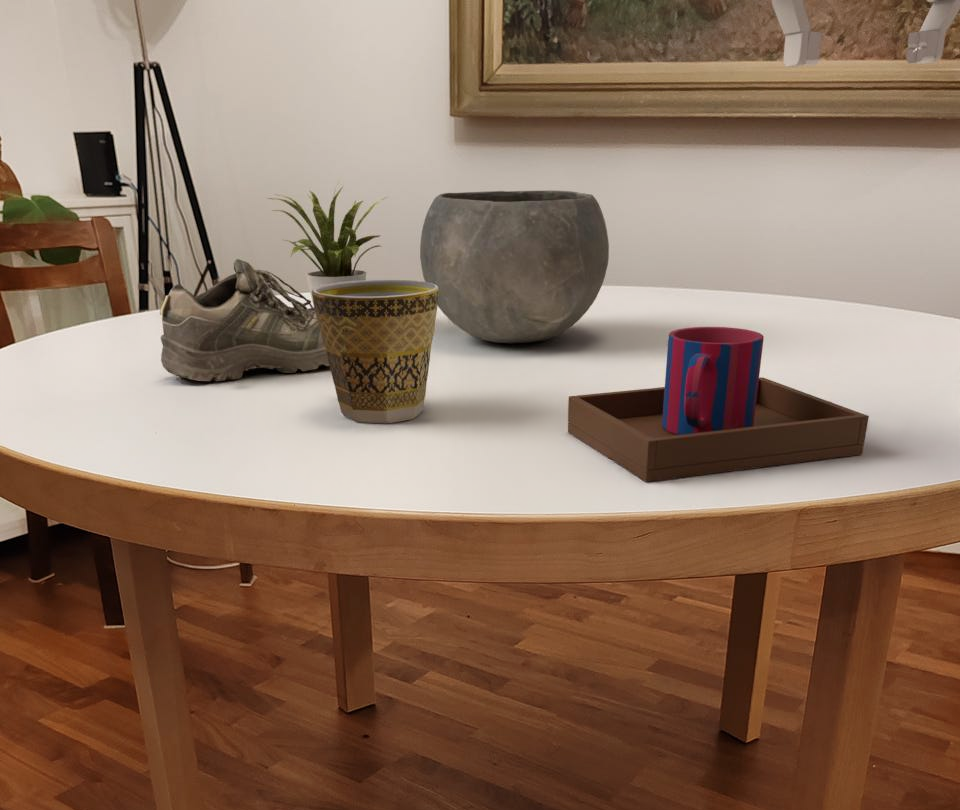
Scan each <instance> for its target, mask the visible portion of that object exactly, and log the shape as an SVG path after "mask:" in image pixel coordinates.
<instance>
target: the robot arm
mask: <svg viewBox="0 0 960 810" xmlns="http://www.w3.org/2000/svg"><path fill="white" fill-rule="evenodd" d="M926 2H927V3H932V5H931V6H930V9H929V10H928V13H927V15H926V17H925V19H924V21H923V23H922V24H921V27H920V29H919V31H912V32H908V38H907V39H908V40H907V47H908V49H907V51H906V53H905V61H906V62H907V63H908V64H931V63H937V62H939V61H940V60H941V58H942V56H943V52H944V47H945V41H946V32H947V30H949V28H950V27H951V25H952V24H953V22H954V20H955V18H956V17H957V15H958V13H959V12H960V0H926ZM771 5H772V8H773V10H774V13H775V15H776V19H777V20H778V24H779V26H780V28H781V31H782V33H783V35H784V48H783V58H782V59H783V60H782V61H783V65H784V66H785V67H788V68H790V67H793V68H795V67H808V66H809V67H810V66H815V65H817V64H818V62H819V60H820V56H821V55H820V54H821V52H820V49H819V48H820V46H821V44H822V36H823V32H822V31H812V28H811V24H810V20H809V17H808V13H807V11H806V7H805V4H804V0H771Z"/></svg>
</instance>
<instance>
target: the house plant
mask: <svg viewBox="0 0 960 810" xmlns="http://www.w3.org/2000/svg"><path fill="white" fill-rule="evenodd" d="M339 183H340V181H338V182H337V184H336V186H335V189H334V192H333V197H332V200H331V202H330V205H329V210H328V216H327V214H326V212H325V211H324V209H323V208H322V206H321V204H320V201H319V198H318V197H317V195H316V193H314V192H313V191H312V190H309V193H310V194H311V196H310V195H309V194H307V196H308V198H309V199H310V201H311V202H312V205H313V206H312V213H313V216H314V218H315V219H314V220H315V221H316V224H317V227H318V230H319V232H318V230H317V229H316V227H315V226H314V224H313V222H312V221H311V219H310V217H308V214H307V213H306V212H305V210H304V209H303V207H302V206H301V205H300V204H299V203H298V202H297V201H296V200H295V199H293V198H291V197H289V196H286V195H283V194H278V197H279V196H280V197H283V198H287V199H288V200H287V199H283V198H273V197H269V198H268V197H266V199H267V200H278V201H282V202H283V203H286V204H287V205H289V206H290V207H292V208H293V209H294V210H295V211H296V212H297V213H298V214H299V215H300V216H301V217H302V219H303V220H304V221H305V223H306V224H307V225H308V226H309V228H310V230H311V231H312V233H313V235H314V237H315V238H316V240H317V241H318V243H319V244H320V246H321V248H322V251H321V250H320V249H319V247H318V246H317V245H316V244H315V242H314V241H313V239H312V238H311V236H310V234H309V233H308V232H307V230H306V229H305V228H304V226H303V225H302V223H301V222H300V221H299V220H298V219H297V218H296V217H295V216H294V215H293V214H292V213H290V212H287V211H285V210H282V209H273V210H271V211H273V212H282V213H284V214H286V215H287V216H289V217H290V218H291V219H293V221H294V222H295V223H296V224H297V225H298V226H299V228H300V229H301V230H302V232H303V233H304V234H305V236H306V238H302V239H299V240H297V241H291V240H288V239H283V241H285V242H289V243H290V244H292V245H293V247H292V250H291V253H290V257H292V256H293V255H295V253H297V252H299V253H302V254H304V255H305V256H306V257H307V258H308V259H309V260H310V261H311V262H312V263H313V264H314V266H315V267H316V268H317V269H318V270H315V271H311V272H307V273H306V274H305V276H306V280H307V284H308V289H309V292H310V296H311V302H312V306H314V303H313V297H312V290H313V289H314V288H316V287H319V286H322V285H327V284H332V283H339V282H347V281H361V280H367V272H366V271H365V270H361V269H360V270H359V269H356V267H357V265H358V263H359V261H360V260H361V257H363V256H364V255H365V254H366V253H367V252H368V251H370V250H371V249H374V248H379V247H382V245H379V244H377V245H373V246H370V247H368V248H367V249H365V250H364V251H363V252H362V253H361V254H360V255H359V256H358V257H357V260H356V261H355V264H354V267H353V266H352V265H353V264H352V258H353V257H356V255H357V253H358V252H359V250H360V247H361V246H362V245H365V244H366V243H368V242H370V241H371V240H374V239H376V238H380V237H381V235H380V234H379V235H375V234H373V235H367V236H363V237H361V238H358V239H357V234H356V233H357V230H358V228H359V227H360V225H361V224H362V222H363V221H364V219H365V218H366V217H367V216H368V214H370V212H371V211H372V210H373V208H374V207H375V206H376V205H378V204H379V203H380V202H381V201H383V200H386V199H387V198H389V196H387V197H384V198H381V199H379V200H377V201H376V202H374V203H373V204H372V205H371V206H370V207H369V208H368V209H367V210H366V211H365V212H364V214H363V215H362V217H361V218H360V219H359V220H358V222H357V224H356V226H355V227H354V229H353V226H354V221H355V219H356V216H357V212H358V210H359V208H360V207H361V205H362V203H363V202H364V200H361V201H358V202H357V199H355V200H354V202H353V203H352V207H351V208H350V209H349V210H348V211H347V212H346V213H345V215H344V217H343V219H342V222H341V226H340V230H339V234H338V237H337V241H336V240H335V212H336V211H335V210H336V201H337V199H338V197H339V194H340V193H341V191H342V189H343V188H344V185H343V186H341V188H340V189H339V190H338V191H337V192H336V190H337V187H338V184H339ZM273 195H274V196H276V194H273ZM289 200H290V201H289ZM297 243H299V244H301V245H298V244H297ZM307 251H310V252H312V254H313V256H314V257H315V259H316V260H317V261H315V259H313V257H312V256H311V255H309V253H308V252H307ZM318 263H319V264H318ZM320 266H321V267H320Z"/></svg>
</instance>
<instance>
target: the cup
mask: <svg viewBox="0 0 960 810" xmlns="http://www.w3.org/2000/svg"><path fill="white" fill-rule="evenodd" d="M764 337H765V336H764V335H763V334H762V333H760V332H757V331H755V330H750V329H745V328H738V327H727V326H694V327H693V326H692V327H684V328H678V329H675V330H674V329H673V330H672V331H670V332H669V333H668V337H667V351H666V352H667V353H666V367H665V379H664V387H665V391H664V404H663V418H662V426H663V428H664V429H665V430H666V431H668V432H670V433H672V434H675V435H684V434H693V433H702V432H711V431H720V430H729V429H737V428H746V427H753V425H754V416H755V408H756V399H757V391H758V382H759V378H760V371H761V366H762V365H761V364H762V357H763V356H762V355H763V347H764V339H765V338H764Z"/></svg>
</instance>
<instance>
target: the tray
mask: <svg viewBox="0 0 960 810" xmlns="http://www.w3.org/2000/svg"><path fill="white" fill-rule="evenodd" d="M664 391H665V386H662V387H660V386H659V387H652V388H651V387H650V388H639V389H629V390H621V391H620V390H619V391H609V392H600V393H599V392H598V393H588V394H579V395H569V396H568V400H567V401H568V405H567V407H568V408H567V433H568V434H570V435H572V436H573V437H574V438H576V439H578V440H580V441H581V442H583V443H585V445H588V447H591V448H592V449H594V450H596V451H597V452H599V453H600V454H602V455H603V456H605V457H606V458H608V459H609V460H611V461H612V462H614V463H616V464H617V465H619V466H620V467H622V468H623V469H625V470H626V471H628V472H630V473H631V474H633V475H635V476H636V477H638V478H639V479H640V480H642V481H644V482H646V483H648V482H656V481H663V480H671V479H680V478H687V477H694V476H703V475H711V474H719V473H727V472H734V471H735V472H736V471H742V470H751V469H758V468H766V467H775V466H783V465H789V464H790V465H791V464H798V463H806V462H813V461H822V460H830V459H838V458H846V457H854V456H861V455H863V451H864V446H865V445H864V444H865V442H866V437H867V430H868V424H869V417H870V416H869V415H868V414H864V413H861V412H859V411H856V410H854V409H851V408H849V407H845V406H842V405H840V404H837V403H834V402H832V401H828V400H826V399H823V398H820V397H818V396H816V395H812V394H811V393H806V392H804V391H801V390H798V389H795V388H793V387H791V386H788V385H785V384H782V383H779V382H777V381H774V380H771V379H769V378H765V377H759V382H758V391H757V399H756V408H755V416H754V425H753V427H746V428H737V429H729V430H720V431H711V432H702V433H693V434H684V435H675V434H672V433H670V432H668V431H666V430H665V429H664V428H663V426H662V418H663V404H664Z"/></svg>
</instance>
